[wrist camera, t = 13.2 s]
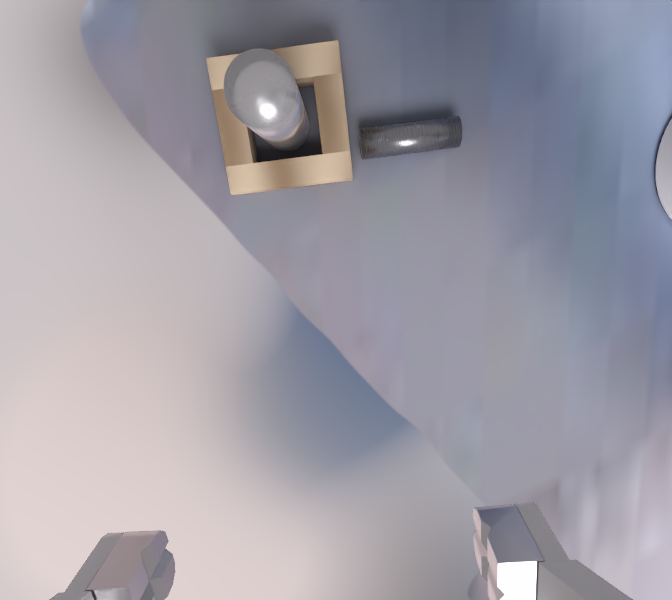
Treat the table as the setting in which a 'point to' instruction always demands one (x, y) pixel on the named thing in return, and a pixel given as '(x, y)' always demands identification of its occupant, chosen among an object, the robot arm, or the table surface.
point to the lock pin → (410, 137)
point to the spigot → (267, 98)
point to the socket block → (335, 161)
